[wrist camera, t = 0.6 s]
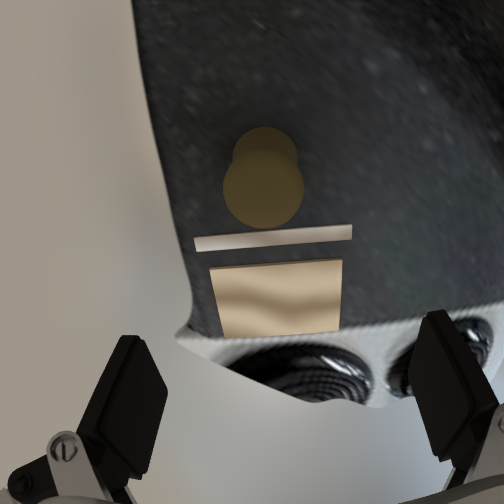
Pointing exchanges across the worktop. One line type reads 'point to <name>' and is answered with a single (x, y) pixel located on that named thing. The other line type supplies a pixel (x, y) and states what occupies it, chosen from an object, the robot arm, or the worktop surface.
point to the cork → (264, 179)
